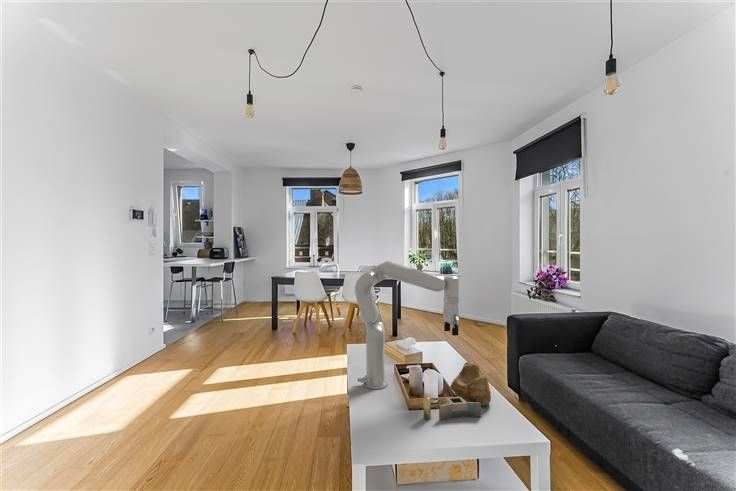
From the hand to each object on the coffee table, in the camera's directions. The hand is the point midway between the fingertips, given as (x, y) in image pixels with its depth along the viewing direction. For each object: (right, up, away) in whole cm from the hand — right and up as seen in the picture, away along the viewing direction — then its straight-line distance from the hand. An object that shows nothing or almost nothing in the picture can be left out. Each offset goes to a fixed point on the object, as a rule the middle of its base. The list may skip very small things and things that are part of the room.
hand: (451, 333), depth 199 cm
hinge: (-5, -28, -32) cm, 43 cm away
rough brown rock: (+5, -28, -15) cm, 32 cm away
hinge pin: (-18, -28, -36) cm, 49 cm away
